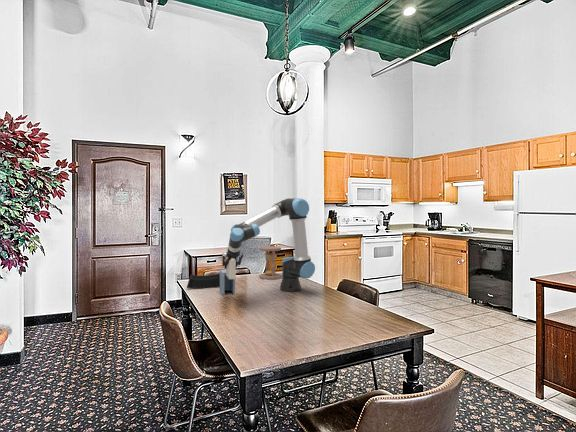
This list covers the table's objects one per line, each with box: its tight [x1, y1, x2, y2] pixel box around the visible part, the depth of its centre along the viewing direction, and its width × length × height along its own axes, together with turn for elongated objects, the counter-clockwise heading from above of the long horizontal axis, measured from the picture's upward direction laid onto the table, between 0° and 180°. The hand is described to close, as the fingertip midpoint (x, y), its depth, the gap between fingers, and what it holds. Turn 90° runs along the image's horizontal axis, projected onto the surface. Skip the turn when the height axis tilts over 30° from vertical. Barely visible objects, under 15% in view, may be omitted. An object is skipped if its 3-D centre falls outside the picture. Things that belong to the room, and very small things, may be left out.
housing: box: [219, 268, 236, 296], centre depth 250 cm, size 14×8×14 cm, turn 18°
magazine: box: [186, 272, 220, 290], centre depth 263 cm, size 17×3×30 cm
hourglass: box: [259, 245, 282, 281], centre depth 301 cm, size 18×18×25 cm
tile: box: [225, 256, 237, 280], centre depth 236 cm, size 13×4×12 cm, turn 18°
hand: (229, 270), depth 239 cm, fingers closed on tile, 4 cm apart
